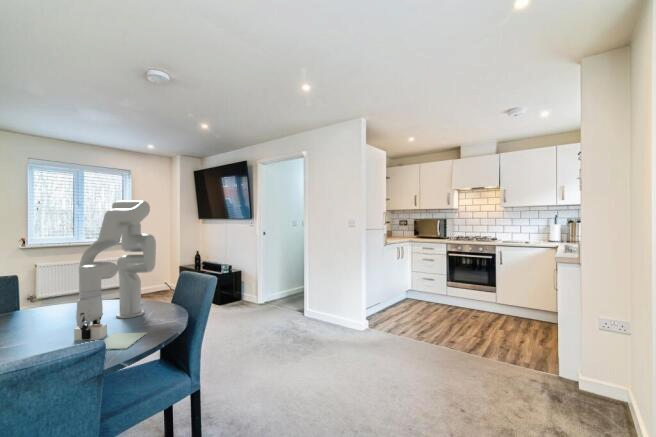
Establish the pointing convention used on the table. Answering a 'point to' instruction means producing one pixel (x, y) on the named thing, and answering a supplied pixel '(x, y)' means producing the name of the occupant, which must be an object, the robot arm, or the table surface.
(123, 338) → the mat
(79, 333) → the cream rectangular box
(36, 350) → the table surface
